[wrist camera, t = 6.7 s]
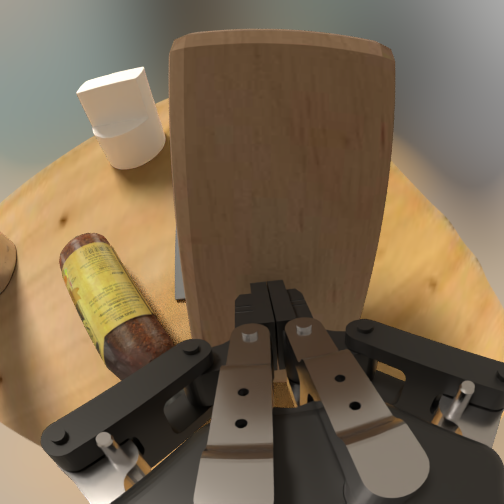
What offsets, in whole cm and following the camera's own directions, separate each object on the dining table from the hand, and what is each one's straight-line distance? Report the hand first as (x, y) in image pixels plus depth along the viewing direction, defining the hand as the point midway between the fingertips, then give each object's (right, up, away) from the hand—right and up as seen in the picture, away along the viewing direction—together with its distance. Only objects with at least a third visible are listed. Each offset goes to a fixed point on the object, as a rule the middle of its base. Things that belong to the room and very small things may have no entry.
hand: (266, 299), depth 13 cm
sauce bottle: (-18, +2, +13) cm, 22 cm away
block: (+1, -5, +9) cm, 10 cm away
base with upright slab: (-17, +17, +24) cm, 34 cm away
